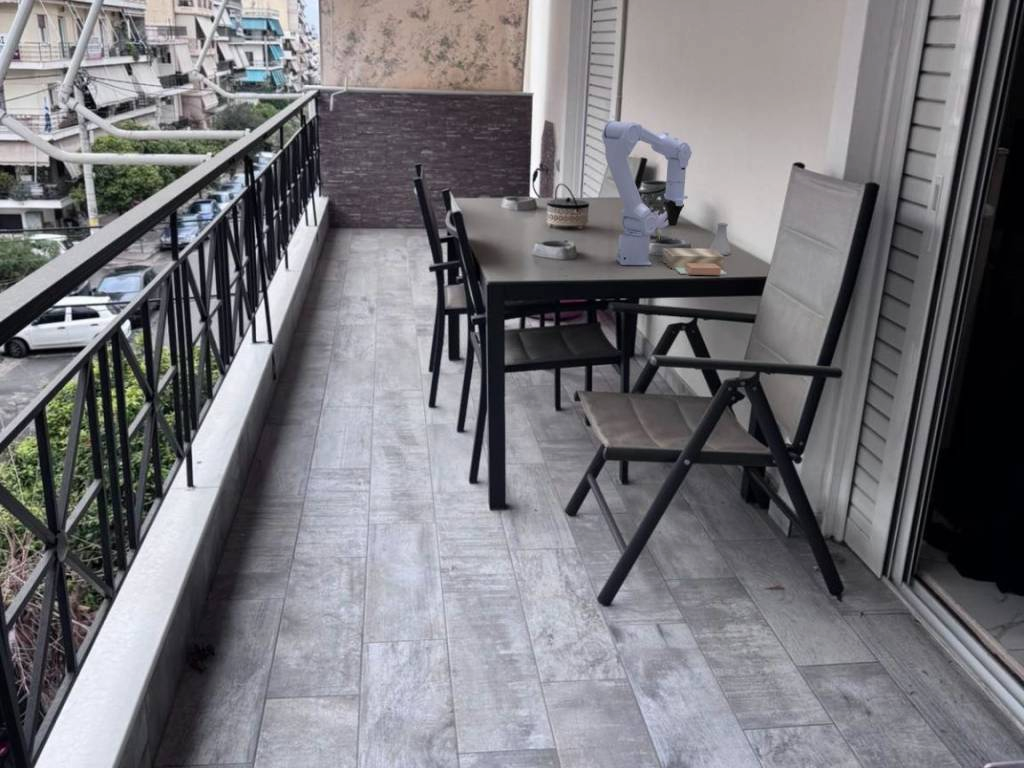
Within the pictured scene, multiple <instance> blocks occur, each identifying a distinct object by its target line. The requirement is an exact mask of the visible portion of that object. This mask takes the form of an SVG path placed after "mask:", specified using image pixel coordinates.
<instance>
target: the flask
mask: <svg viewBox="0 0 1024 768" xmlns="http://www.w3.org/2000/svg"><path fill="white" fill-rule="evenodd" d="M716 225H717V230H716V233H715V236H714V238H713V241H712V243H711V244H710V247H709V248H708V249H714V250H716V251H717V252H718V253H720V254H721V255H723V256H729V255H732V251H731V248H730V244H729V239H728V235H727V234H728V233H727V227H728V225H729V223H726V222H718V223H717V224H716Z"/></svg>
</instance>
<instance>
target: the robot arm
mask: <svg viewBox="0 0 1024 768" xmlns="http://www.w3.org/2000/svg"><path fill="white" fill-rule="evenodd" d="M601 133H602V134H601V138H602V142H603V145H604V148H605V149H604V150H605V152H604V153H605V160H606V164H607V166H608V169H609V172H610V174H611V177H612V179H613V182H614V184H615V186H616V190H617V192H618V195H619V197H620V199H621V200H620V201H621V203H622V205H623V209H622V210H621V211H620V216H621V225H622V228H623V230H624V233H622V234H621V233H620V234H619V235H618V239H617V240H618V242H617V254H616V261H617V262H618V264H619V265H620V266H652V262H650V260H649V256H650V255H649V254H650V253H649V252H650V242H651V236H653V233H655V229H656V226H657V219H656V217H655V216H654V215H653V214H652V211H651V208H649V207H648V206H647V205H646V204H645V203H643V201H642V198H641V196H640V193H639V189H638V187H637V185H636V181H635V179H634V177H633V174H632V171H631V168H630V165H629V163H628V159H627V158H628V156H630V155H631V154H632V152H633V151H634V148H635V146H636V145H637V143H638V142H643V143H645V144H648V145H650V146H651V149H652V150H653V152H655V153H657V154H659V155H661V156H664V158H665V160H666V161H667V167H666V183H665V195H664V199H665V200H669V201H664V202H663V204H664V207H665V212H666V211H667V220H668V224H669V225H668V226H670V227H673V226H674V227H676V226H677V224H678V221H679V217H680V214H681V212H682V210H683V208H684V207H685V204H684V200H685V199H686V200H687V199H688V195H686V194H685V184H686V176H687V175H686V173H687V168H688V165H689V160H690V159H691V157H692V153H693V151H691V150H692V149H691V147H690V145H689V144H688V143H687V142H683V141H682V142H681V141H679V138H677V137H672V136H669V135H670V134H669V133H668V132H667V131H663V132H658V133H655V132H653V131H651V130H650V129H648V128H646V127H645V126H643V125H642V124H638V123H637V122H625V121H624V122H623V121H617V120H613V119H611V120H609V121H607V123H606V124H605V125H604V128H603V130H602V132H601Z"/></svg>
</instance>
